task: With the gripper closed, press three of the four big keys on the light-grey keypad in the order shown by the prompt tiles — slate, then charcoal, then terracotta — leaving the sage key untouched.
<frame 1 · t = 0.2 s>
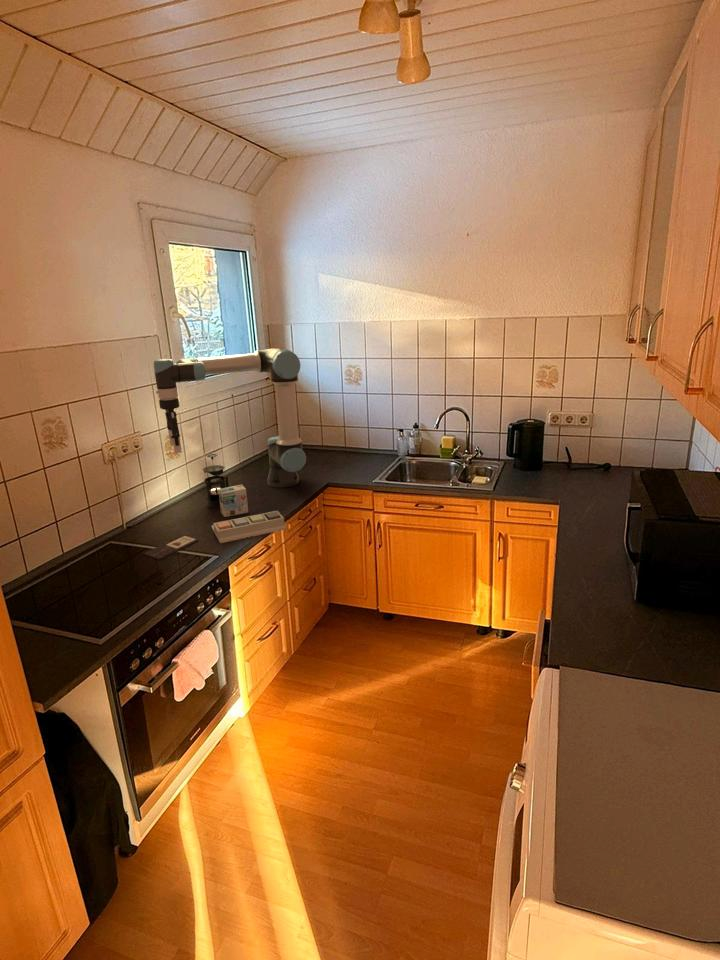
hand: (175, 449, 233), 28 cm above the worktop, fingers open, 13 cm apart
charcoal key: (272, 516, 223), point 4 cm above the worktop, slide at 0.0 cm
chocolate bar: (171, 549, 208), on the worktop
light bulb box: (234, 512, 239), on the worktop
terracotta key: (224, 526, 216), point 4 cm above the worktop, slide at 0.0 cm
slate key: (240, 522, 218), point 4 cm above the worktop, slide at 0.0 cm
sage key: (257, 519, 221), point 4 cm above the worktop, slide at 0.0 cm
keypad board: (248, 528, 222), on the worktop
french press: (219, 504, 249), on the worktop
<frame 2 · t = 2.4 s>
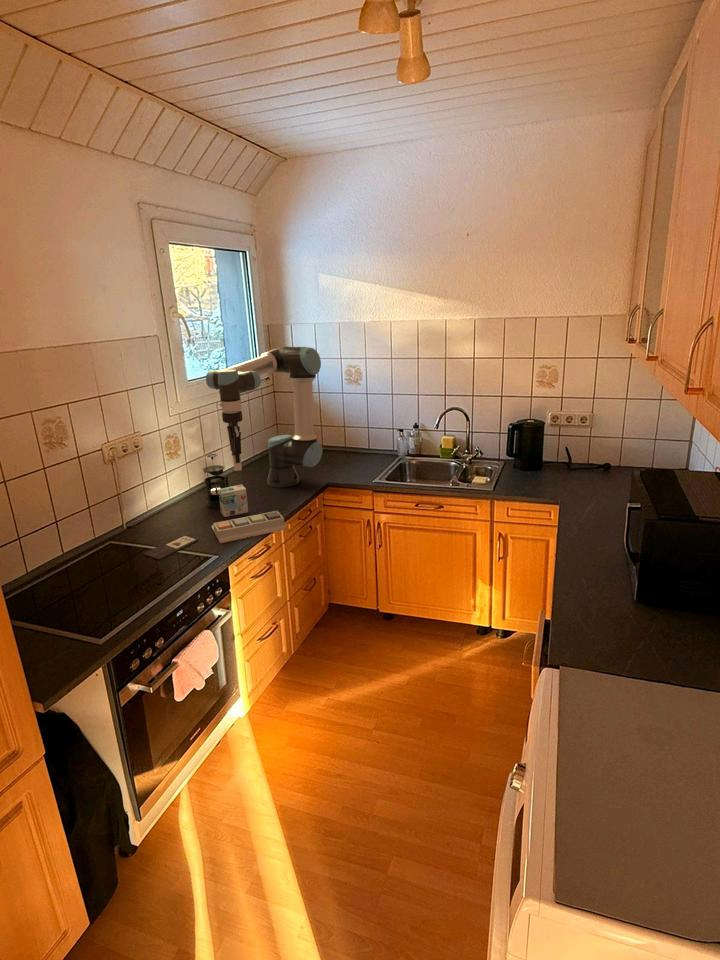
hand: (238, 469, 221), 22 cm above the worktop, fingers closed
nothing on the worktop moved.
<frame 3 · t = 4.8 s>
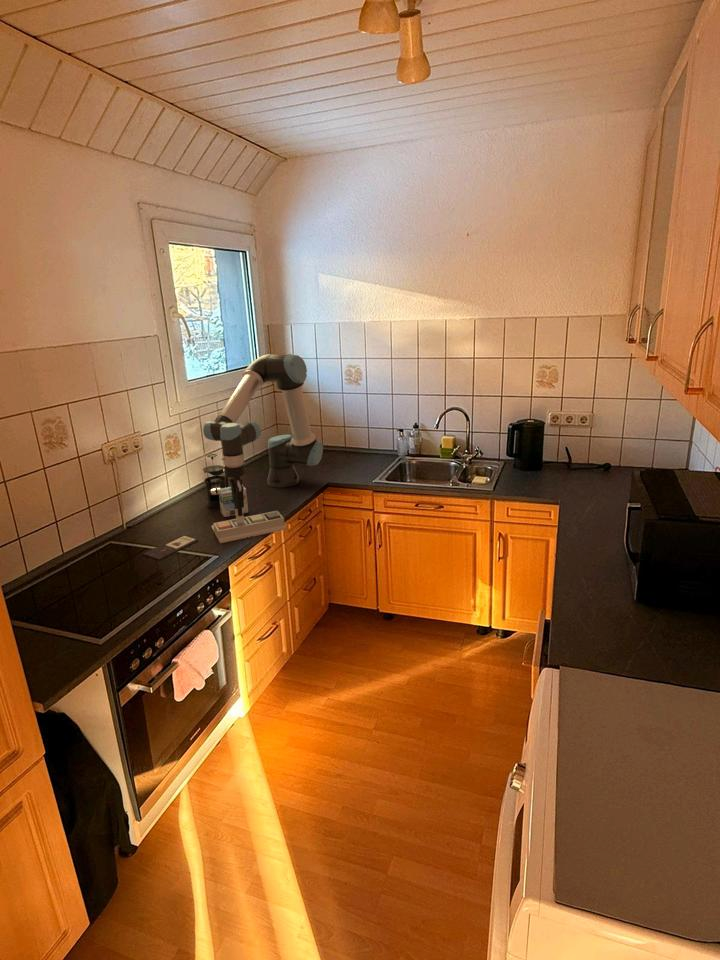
hand: (240, 522, 218), 4 cm above the worktop, fingers closed
slate key: (240, 524, 219), point 3 cm above the worktop, slide at 0.9 cm, touching gripper
everything else where it was.
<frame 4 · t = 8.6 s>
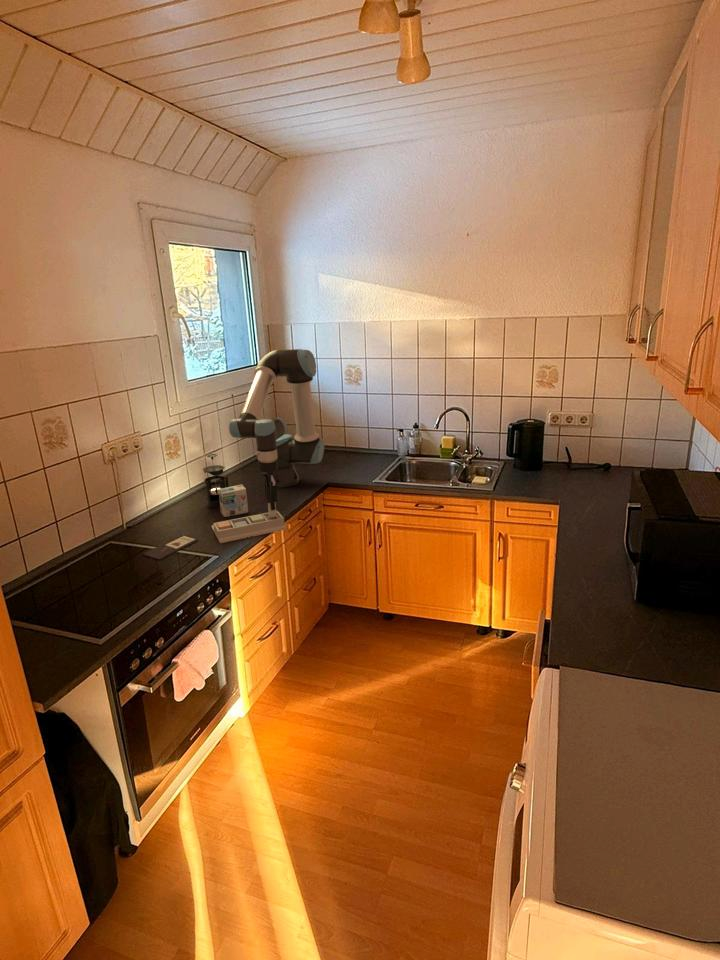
hand: (272, 516, 223), 4 cm above the worktop, fingers closed
charcoal key: (273, 518, 224), point 3 cm above the worktop, slide at 1.1 cm, touching gripper
slate key: (241, 525, 219), point 3 cm above the worktop, slide at 1.3 cm
everything else where it was.
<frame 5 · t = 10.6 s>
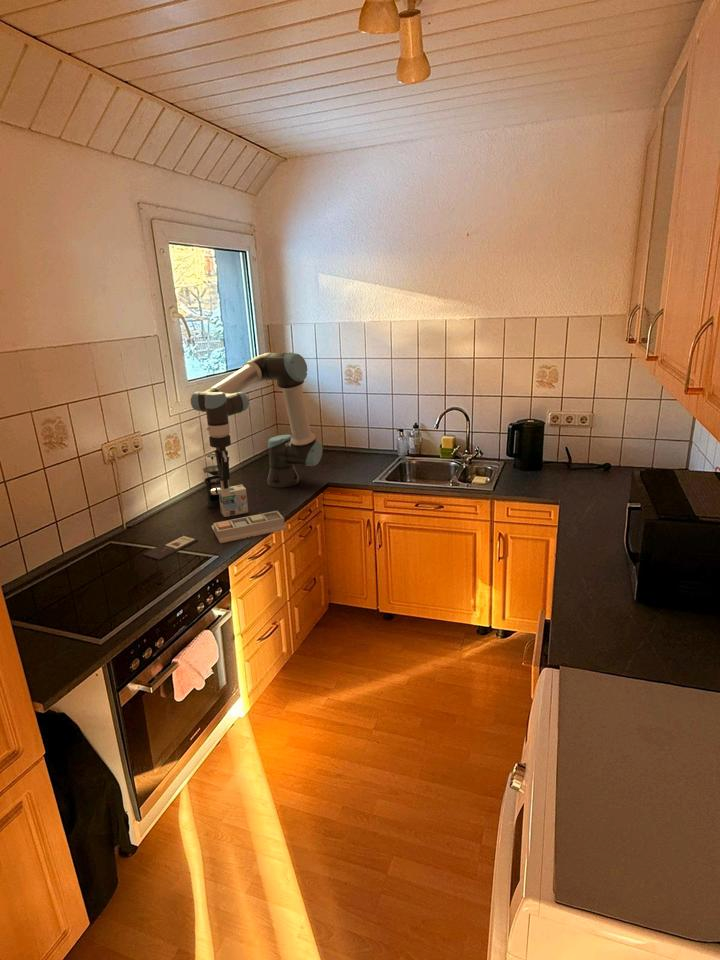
hand: (226, 495, 212), 16 cm above the worktop, fingers closed
charcoal key: (273, 519, 224), point 3 cm above the worktop, slide at 1.3 cm
everything else where it was.
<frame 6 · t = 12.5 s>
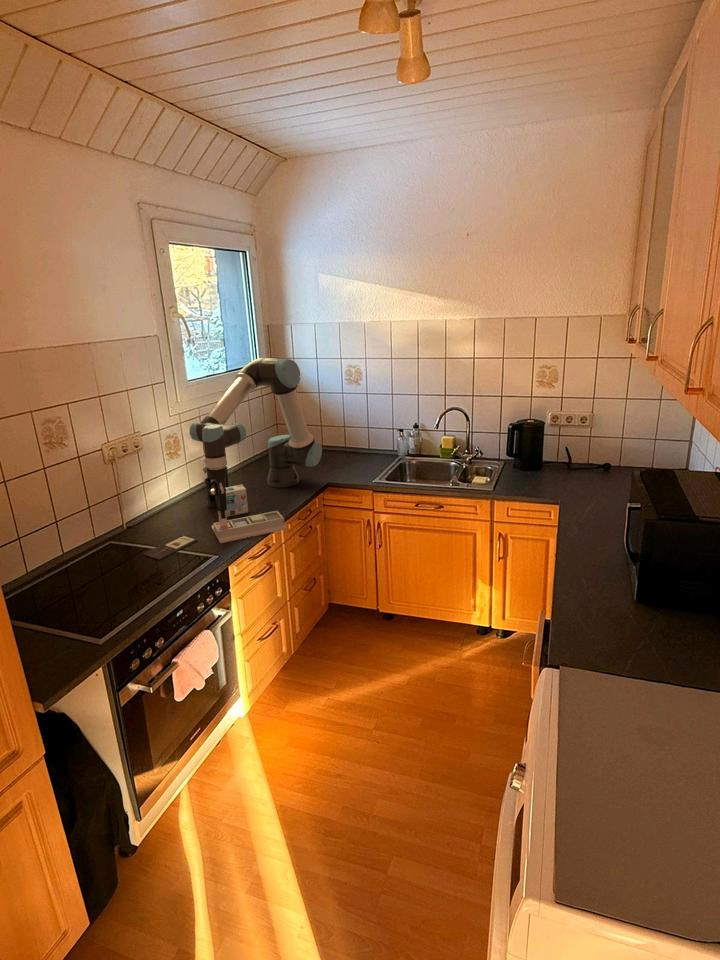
hand: (223, 525, 216), 4 cm above the worktop, fingers closed
terracotta key: (224, 527, 216), point 3 cm above the worktop, slide at 0.7 cm, touching gripper
everything else where it was.
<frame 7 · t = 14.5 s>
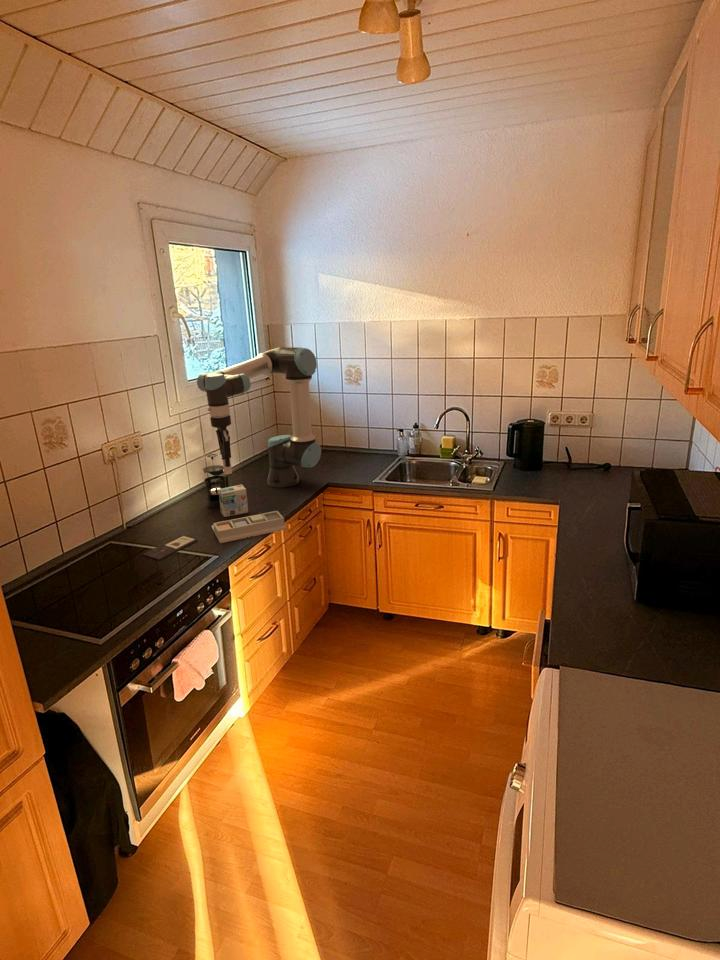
hand: (228, 473, 222), 21 cm above the worktop, fingers closed
terracotta key: (224, 529, 216), point 3 cm above the worktop, slide at 1.3 cm
everything else where it was.
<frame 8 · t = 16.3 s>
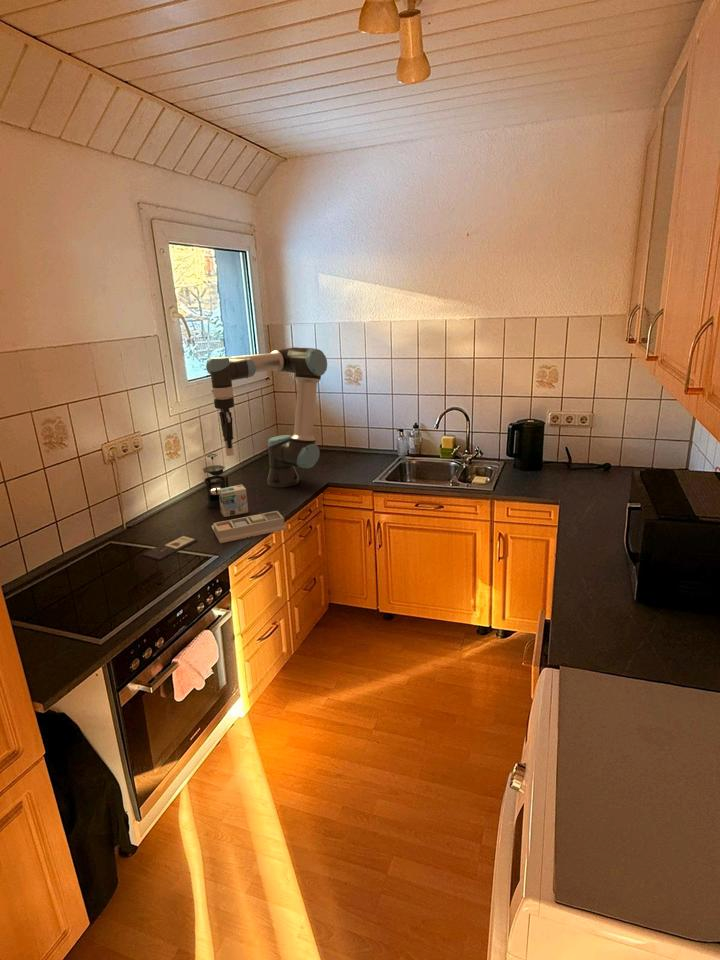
hand: (230, 455, 227), 26 cm above the worktop, fingers closed
nothing on the worktop moved.
at the end: slate key slide at 1.3 cm; charcoal key slide at 1.3 cm; terracotta key slide at 1.3 cm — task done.
